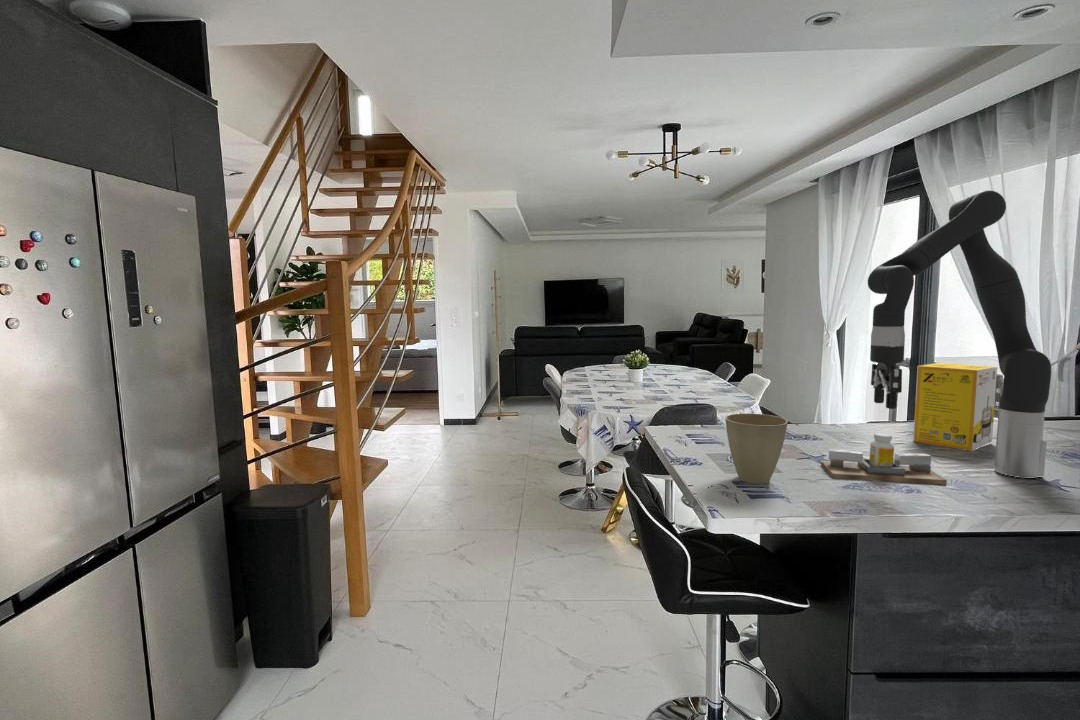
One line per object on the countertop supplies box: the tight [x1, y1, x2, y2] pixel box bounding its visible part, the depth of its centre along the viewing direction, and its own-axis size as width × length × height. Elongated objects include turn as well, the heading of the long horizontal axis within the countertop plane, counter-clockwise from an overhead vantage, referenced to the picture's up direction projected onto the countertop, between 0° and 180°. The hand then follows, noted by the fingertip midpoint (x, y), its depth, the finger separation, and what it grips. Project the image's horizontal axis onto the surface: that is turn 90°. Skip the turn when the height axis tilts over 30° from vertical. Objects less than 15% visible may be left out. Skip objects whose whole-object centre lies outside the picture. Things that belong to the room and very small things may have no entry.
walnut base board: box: [820, 461, 948, 486], centre depth 151 cm, size 26×12×1 cm, turn 77°
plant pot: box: [724, 412, 789, 485], centre depth 146 cm, size 15×15×16 cm
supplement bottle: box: [869, 432, 895, 467], centre depth 150 cm, size 5×5×10 cm
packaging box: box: [912, 362, 998, 451], centre depth 184 cm, size 16×16×25 cm
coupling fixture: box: [828, 448, 932, 476], centre depth 151 cm, size 24×9×4 cm, turn 77°
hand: (884, 405), depth 149 cm, fingers open, 8 cm apart
